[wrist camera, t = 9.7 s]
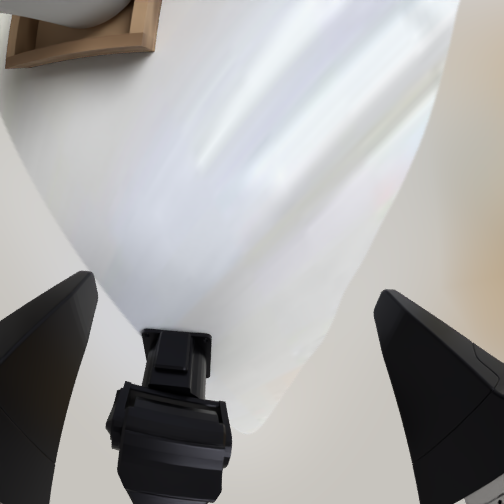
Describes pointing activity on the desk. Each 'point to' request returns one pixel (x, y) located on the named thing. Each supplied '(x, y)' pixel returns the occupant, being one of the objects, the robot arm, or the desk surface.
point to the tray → (82, 37)
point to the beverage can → (66, 11)
